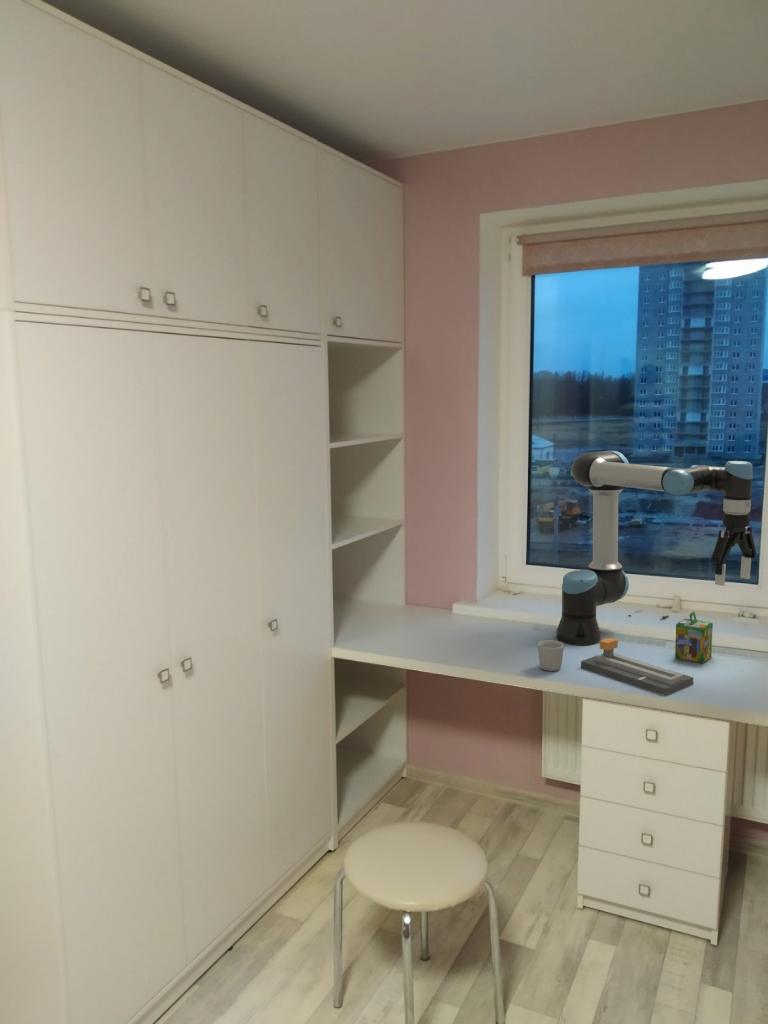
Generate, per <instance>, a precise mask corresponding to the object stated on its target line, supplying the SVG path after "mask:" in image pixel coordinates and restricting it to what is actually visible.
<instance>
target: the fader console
mask: <svg viewBox="0 0 768 1024" xmlns="http://www.w3.org/2000/svg"><path fill="white" fill-rule="evenodd" d="M580 668H582V669H585V670H588V671H591V672H593V673H594V672H595V673H597V674H600V675H603V676H607V677H609V678H612V679H615V680H618V681H621V682H624V683H627V684H629V685H633V686H635V687H639V688H641V689H645V690H647V691H651V692H653V693H657V694H659V695H662V696H667V695H670V694H672V693H675V692H677V691H680V690H682V689H684V688H686V687H689V686H691V685H694V677H693V676H689V675H688V674H687V675H686V674H683V673H679V672H677V671H674V670H670V669H668V668H664V667H660V666H658V665H657V666H656V665H653V664H650V663H647V662H644V661H641V660H636V659H633V658H631V657H627V656H624V655H621V654H618V653H614V652H613V659H612V658H608V657H605V656H603V653H601V654H599V653H598V654H595V655H593V657H589V658H586V659H583V660H581V661H580Z"/></svg>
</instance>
